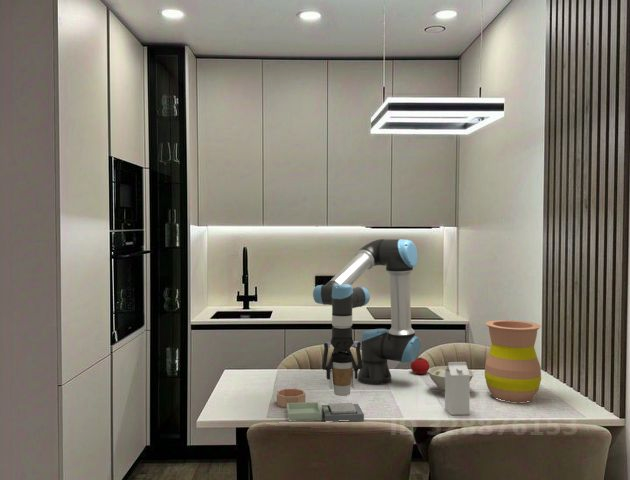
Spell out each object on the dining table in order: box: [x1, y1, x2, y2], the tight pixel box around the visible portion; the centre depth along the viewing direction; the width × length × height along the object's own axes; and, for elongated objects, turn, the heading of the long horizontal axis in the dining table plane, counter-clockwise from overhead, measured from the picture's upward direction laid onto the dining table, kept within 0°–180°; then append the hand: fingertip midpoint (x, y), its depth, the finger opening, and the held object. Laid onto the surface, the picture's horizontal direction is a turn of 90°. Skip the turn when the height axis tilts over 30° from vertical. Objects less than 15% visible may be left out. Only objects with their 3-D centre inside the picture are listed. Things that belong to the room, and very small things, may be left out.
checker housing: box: [321, 403, 365, 422], centre depth 206 cm, size 14×12×3 cm
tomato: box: [410, 357, 430, 375], centre depth 266 cm, size 9×9×8 cm
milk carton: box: [444, 361, 471, 416], centre depth 211 cm, size 7×7×19 cm
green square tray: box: [286, 401, 323, 421], centre depth 208 cm, size 12×12×3 cm
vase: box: [484, 319, 542, 403], centre depth 229 cm, size 22×22×30 cm
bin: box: [276, 388, 306, 409], centre depth 221 cm, size 11×11×4 cm
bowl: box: [427, 365, 474, 395], centre depth 235 cm, size 19×19×10 cm
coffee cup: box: [330, 351, 354, 397], centre depth 206 cm, size 8×8×15 cm
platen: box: [328, 402, 356, 415], centre depth 206 cm, size 9×9×1 cm
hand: (342, 387), depth 206 cm, fingers closed on coffee cup, 8 cm apart
